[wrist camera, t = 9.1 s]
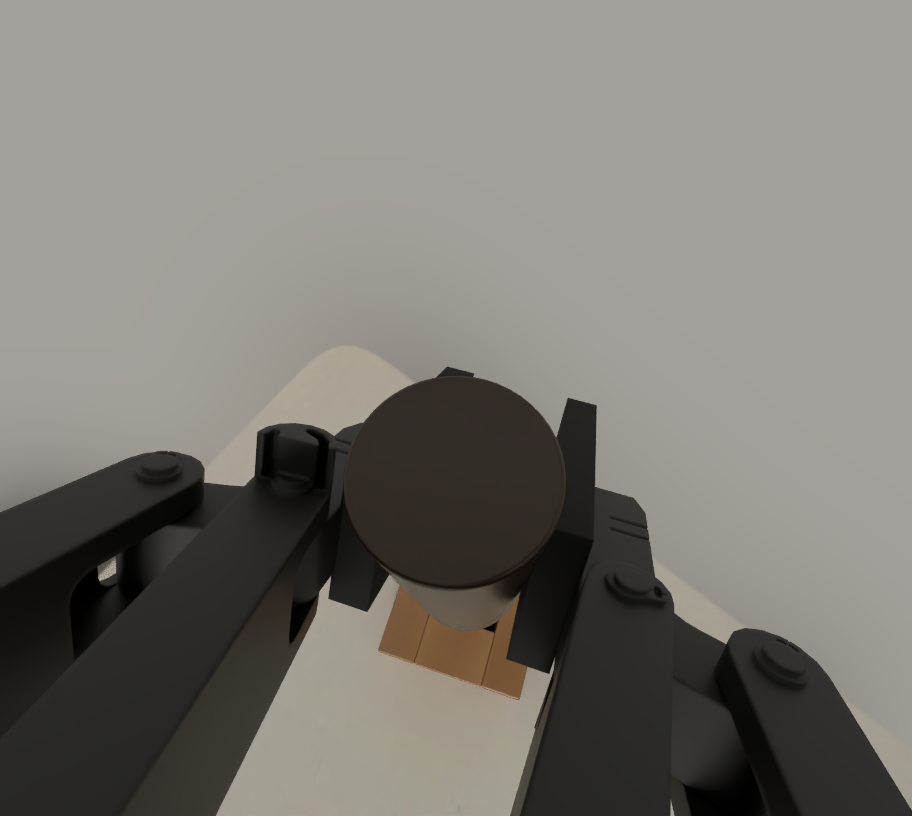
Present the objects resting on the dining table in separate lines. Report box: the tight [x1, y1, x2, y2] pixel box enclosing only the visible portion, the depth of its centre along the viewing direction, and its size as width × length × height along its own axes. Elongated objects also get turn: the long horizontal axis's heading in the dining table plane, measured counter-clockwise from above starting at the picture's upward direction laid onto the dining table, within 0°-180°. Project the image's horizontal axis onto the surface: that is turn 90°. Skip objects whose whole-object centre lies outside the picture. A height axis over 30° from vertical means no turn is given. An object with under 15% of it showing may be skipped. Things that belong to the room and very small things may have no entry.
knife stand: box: [378, 586, 527, 700], centre depth 29 cm, size 7×6×5 cm
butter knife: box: [343, 376, 566, 631], centre depth 14 cm, size 3×3×16 cm
